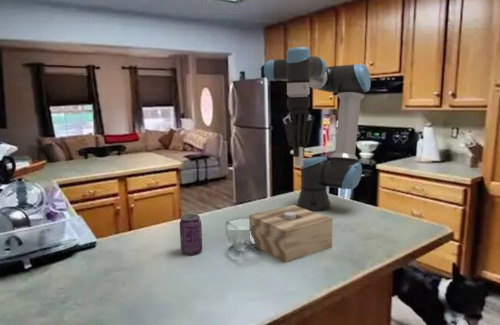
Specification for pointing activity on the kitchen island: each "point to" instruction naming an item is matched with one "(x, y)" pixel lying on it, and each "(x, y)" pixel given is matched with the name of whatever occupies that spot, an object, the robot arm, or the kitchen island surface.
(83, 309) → the kitchen island surface
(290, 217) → the pill bottle
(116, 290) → the kitchen island surface
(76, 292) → the kitchen island surface
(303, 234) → the socket block
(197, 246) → the beverage can
